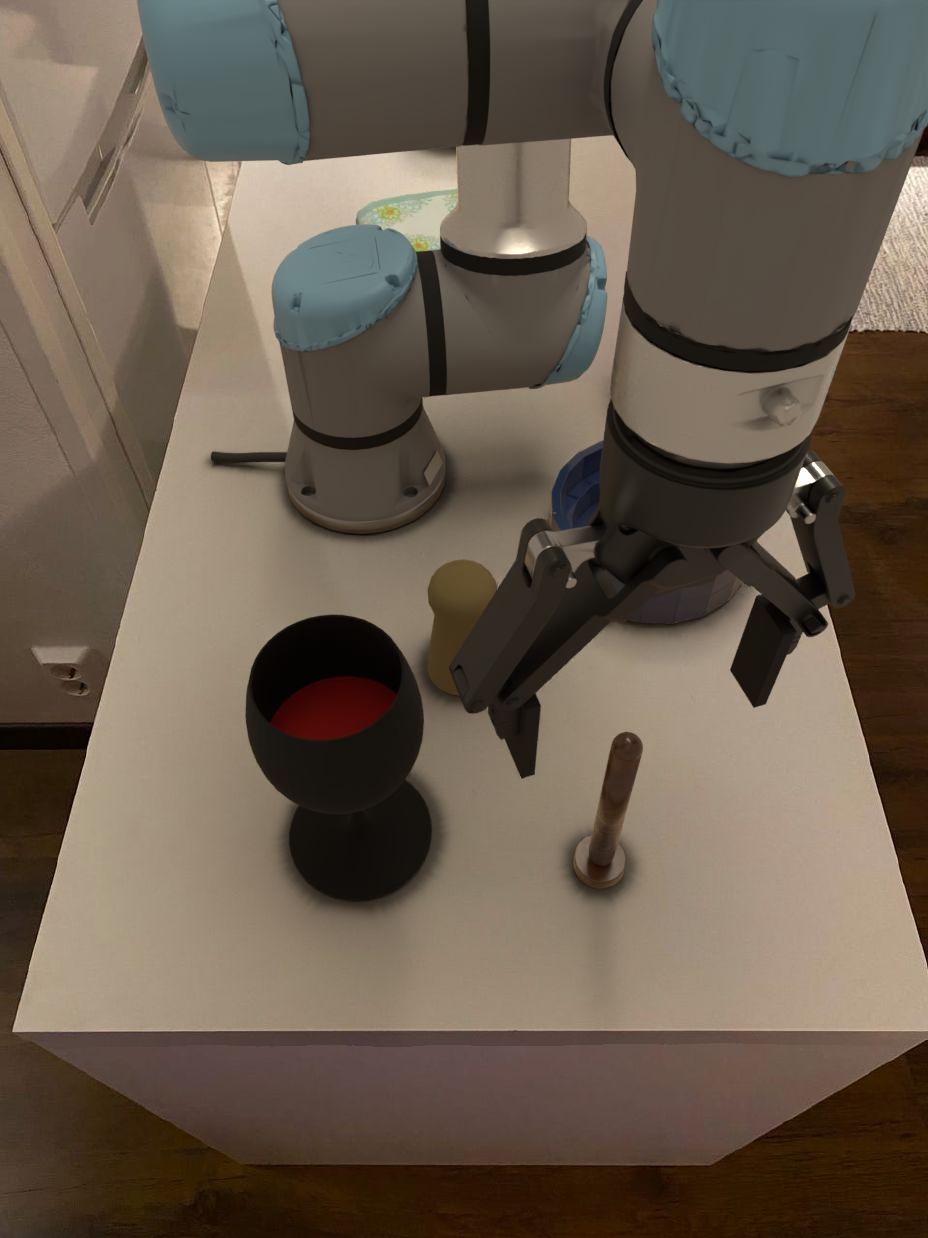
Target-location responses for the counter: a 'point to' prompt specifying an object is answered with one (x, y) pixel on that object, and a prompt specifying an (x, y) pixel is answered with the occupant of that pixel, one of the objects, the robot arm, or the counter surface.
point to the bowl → (573, 509)
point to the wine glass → (342, 752)
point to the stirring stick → (610, 817)
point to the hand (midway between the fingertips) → (635, 720)
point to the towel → (412, 216)
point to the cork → (455, 614)
